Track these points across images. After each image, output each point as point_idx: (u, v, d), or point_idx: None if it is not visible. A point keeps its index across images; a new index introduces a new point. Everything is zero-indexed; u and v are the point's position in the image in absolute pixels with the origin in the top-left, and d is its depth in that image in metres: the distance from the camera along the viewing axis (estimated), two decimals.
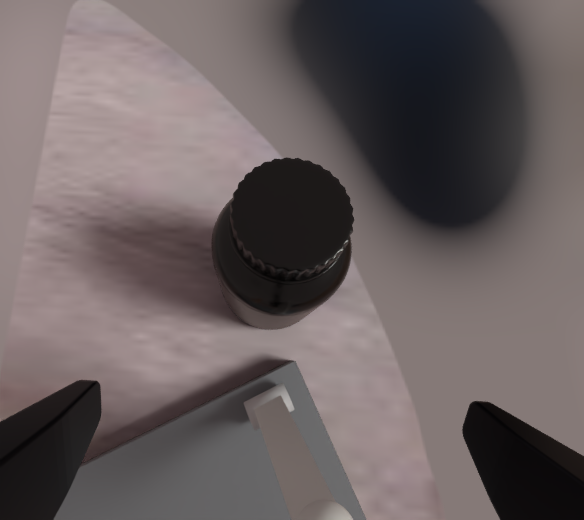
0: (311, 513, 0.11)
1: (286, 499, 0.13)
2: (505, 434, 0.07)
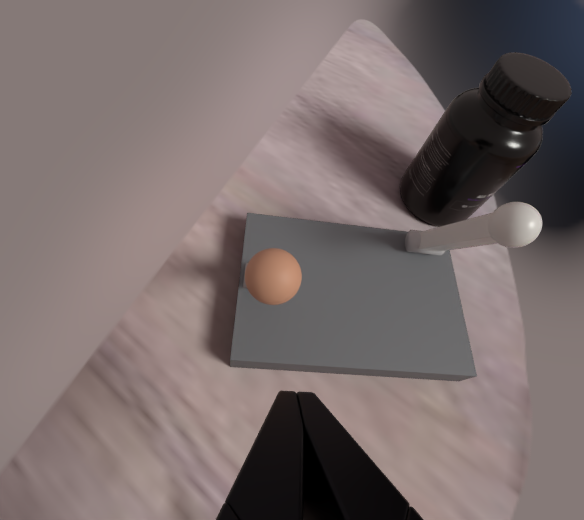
0: None
1: (478, 217, 0.18)
2: None
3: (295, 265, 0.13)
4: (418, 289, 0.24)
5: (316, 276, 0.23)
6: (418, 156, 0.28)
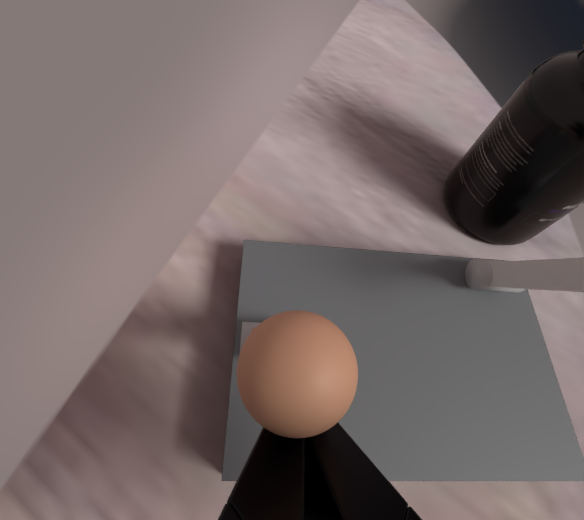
0: None
1: None
2: None
3: (346, 348, 0.06)
4: (490, 344, 0.17)
5: (345, 332, 0.16)
6: (474, 152, 0.20)
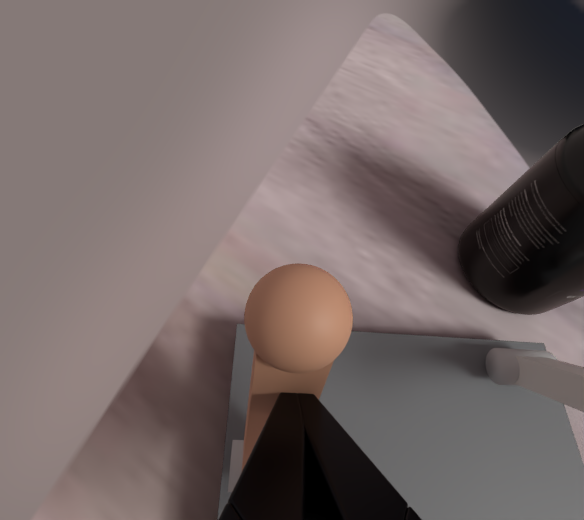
0: None
1: None
2: None
3: None
4: (516, 450, 0.15)
5: None
6: (494, 217, 0.18)
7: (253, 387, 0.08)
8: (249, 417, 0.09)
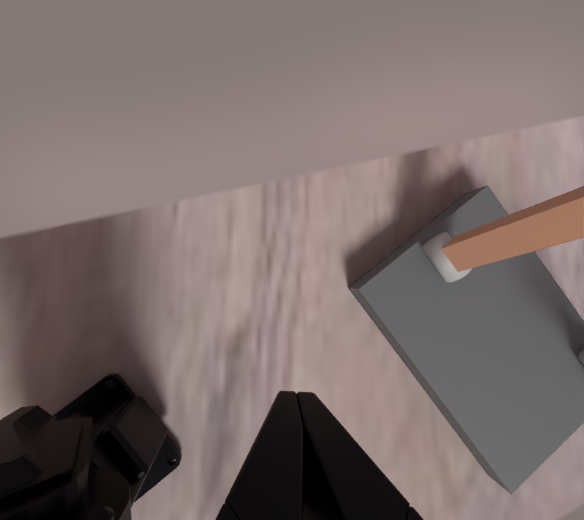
0: None
1: None
2: None
3: None
4: (547, 392, 0.21)
5: (482, 296, 0.21)
6: None
7: (562, 205, 0.13)
8: (524, 218, 0.15)
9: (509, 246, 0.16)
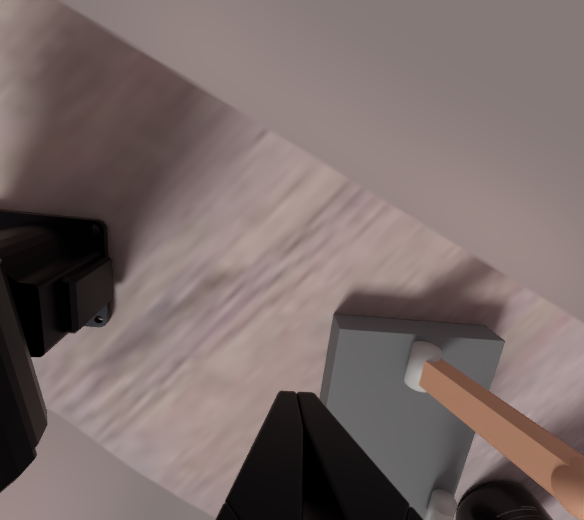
0: None
1: None
2: None
3: None
4: None
5: (416, 406, 0.22)
6: None
7: (535, 442, 0.14)
8: (501, 417, 0.15)
9: (471, 416, 0.17)
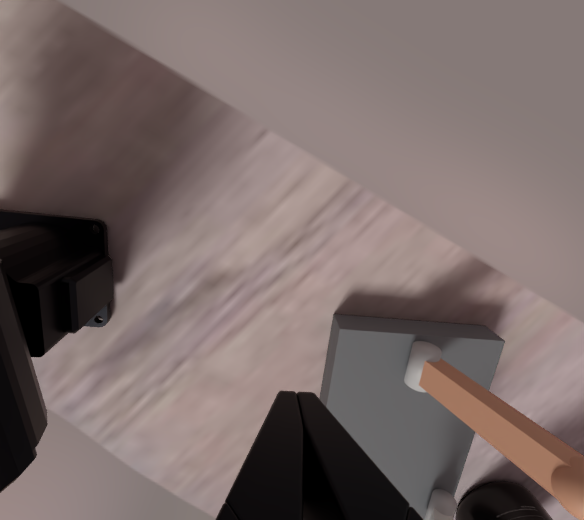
0: None
1: None
2: None
3: None
4: None
5: (416, 406, 0.22)
6: None
7: (535, 442, 0.14)
8: (501, 417, 0.15)
9: (471, 416, 0.17)
